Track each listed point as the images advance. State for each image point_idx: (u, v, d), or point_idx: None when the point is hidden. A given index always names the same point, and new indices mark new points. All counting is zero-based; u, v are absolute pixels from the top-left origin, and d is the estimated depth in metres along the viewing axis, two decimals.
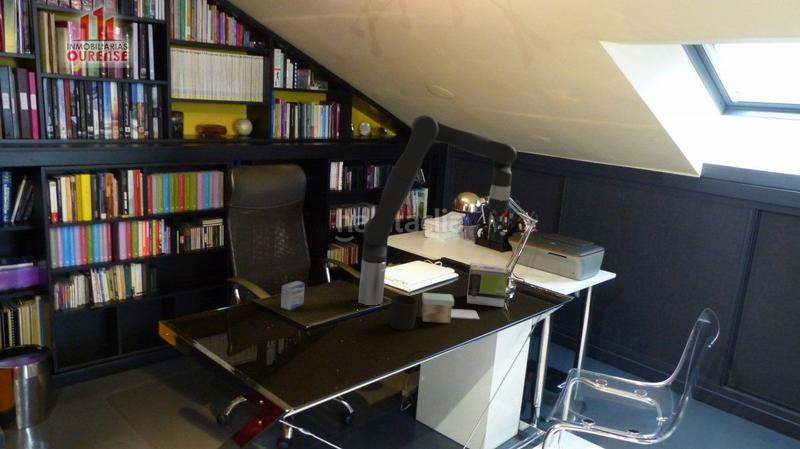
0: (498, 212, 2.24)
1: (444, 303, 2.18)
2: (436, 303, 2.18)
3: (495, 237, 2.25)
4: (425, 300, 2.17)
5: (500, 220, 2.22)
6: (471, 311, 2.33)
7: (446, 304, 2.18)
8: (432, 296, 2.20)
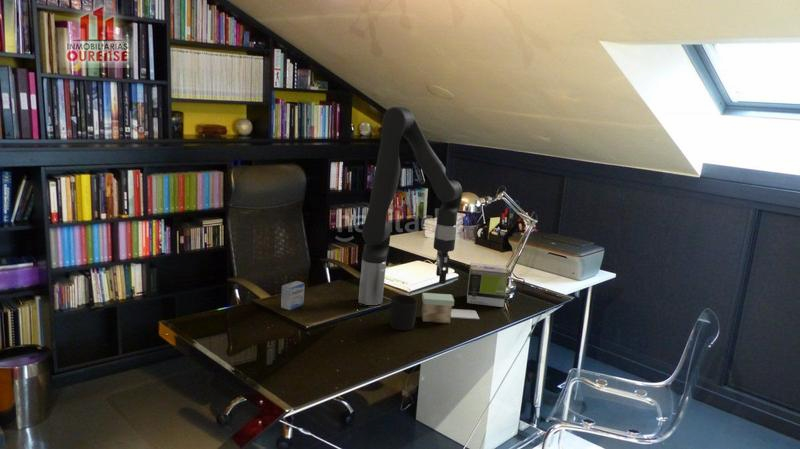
0: (443, 252, 2.13)
1: (444, 303, 2.18)
2: (436, 303, 2.18)
3: (440, 279, 2.14)
4: (425, 300, 2.17)
5: (445, 261, 2.11)
6: (471, 311, 2.33)
7: (446, 304, 2.18)
8: (432, 296, 2.20)
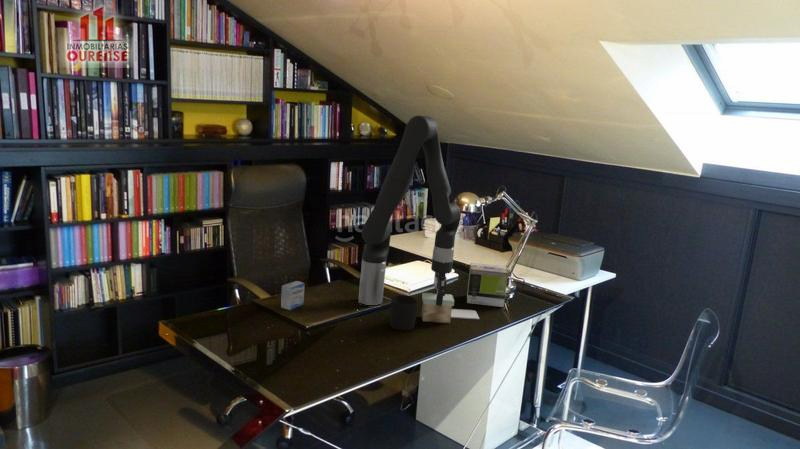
0: (441, 274, 2.15)
1: (444, 303, 2.18)
2: None
3: (437, 301, 2.17)
4: (425, 300, 2.17)
5: (442, 285, 2.13)
6: (471, 311, 2.33)
7: (446, 304, 2.18)
8: (432, 296, 2.20)
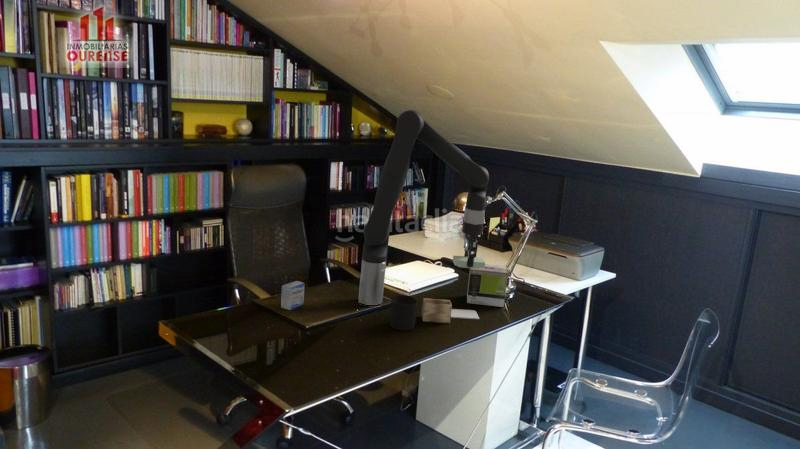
0: (472, 236, 2.20)
1: (475, 265, 2.23)
2: None
3: (468, 262, 2.21)
4: (456, 262, 2.22)
5: (474, 246, 2.17)
6: (471, 311, 2.33)
7: (477, 266, 2.23)
8: (463, 258, 2.25)
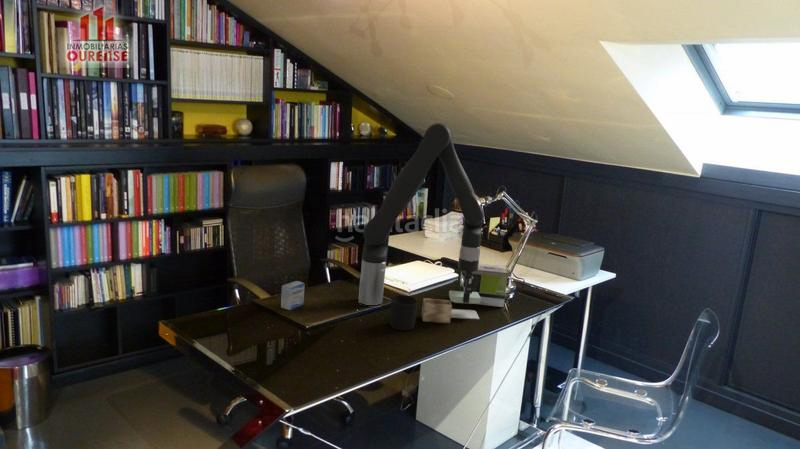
0: (468, 273, 2.23)
1: (471, 300, 2.26)
2: None
3: (464, 298, 2.24)
4: (453, 297, 2.25)
5: (469, 283, 2.21)
6: (471, 311, 2.33)
7: (473, 301, 2.26)
8: (459, 294, 2.28)
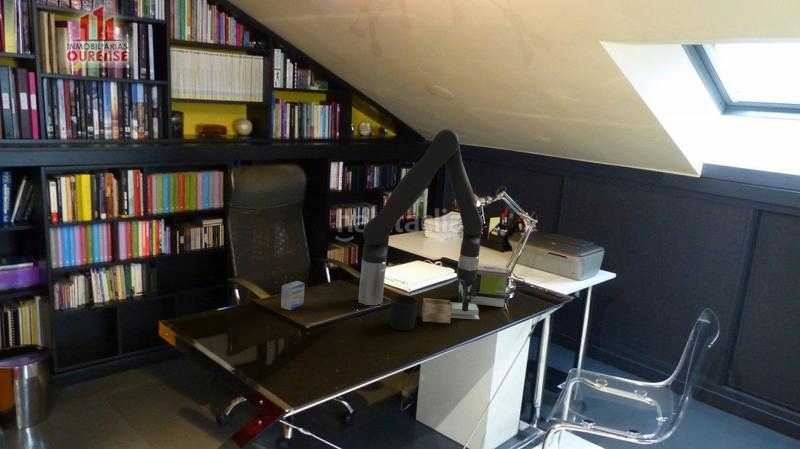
0: (466, 282, 2.24)
1: (469, 312, 2.27)
2: (461, 312, 2.27)
3: (463, 307, 2.24)
4: None
5: (468, 291, 2.21)
6: None
7: (471, 313, 2.27)
8: (457, 305, 2.29)
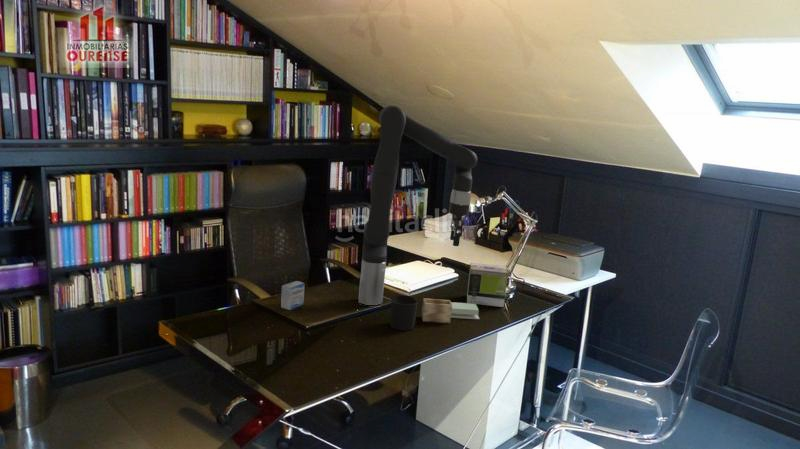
0: (458, 216, 2.26)
1: (469, 312, 2.27)
2: (461, 312, 2.27)
3: (454, 241, 2.26)
4: None
5: (459, 224, 2.23)
6: None
7: (471, 313, 2.27)
8: (457, 305, 2.29)
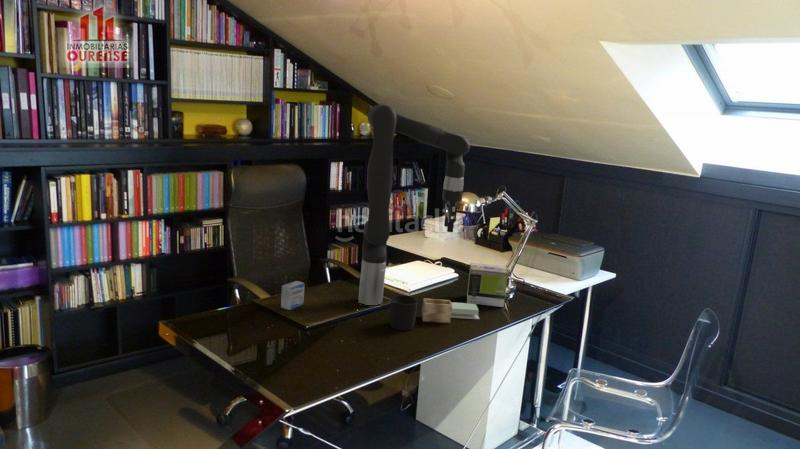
0: (451, 203, 2.28)
1: (469, 312, 2.27)
2: (461, 312, 2.27)
3: (448, 227, 2.29)
4: None
5: (453, 210, 2.26)
6: None
7: (471, 313, 2.27)
8: (457, 305, 2.29)
